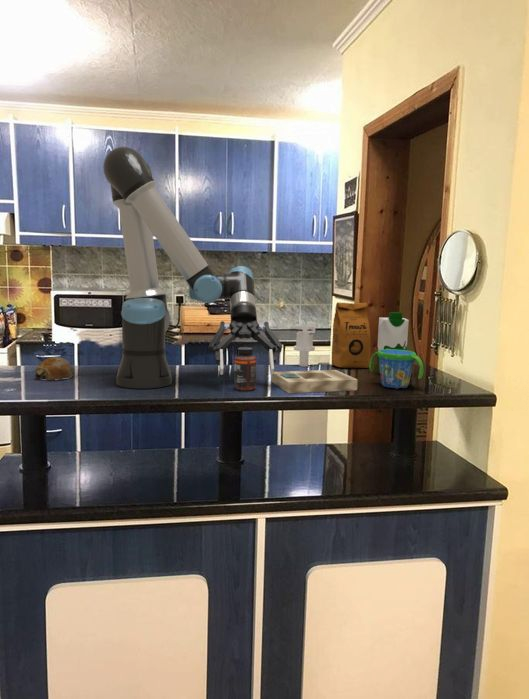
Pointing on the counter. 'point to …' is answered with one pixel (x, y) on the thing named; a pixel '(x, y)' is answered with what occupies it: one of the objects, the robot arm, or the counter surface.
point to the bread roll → (54, 369)
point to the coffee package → (351, 336)
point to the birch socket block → (314, 381)
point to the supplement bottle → (245, 369)
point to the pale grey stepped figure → (304, 342)
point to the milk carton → (392, 333)
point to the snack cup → (396, 367)
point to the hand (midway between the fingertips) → (247, 371)
